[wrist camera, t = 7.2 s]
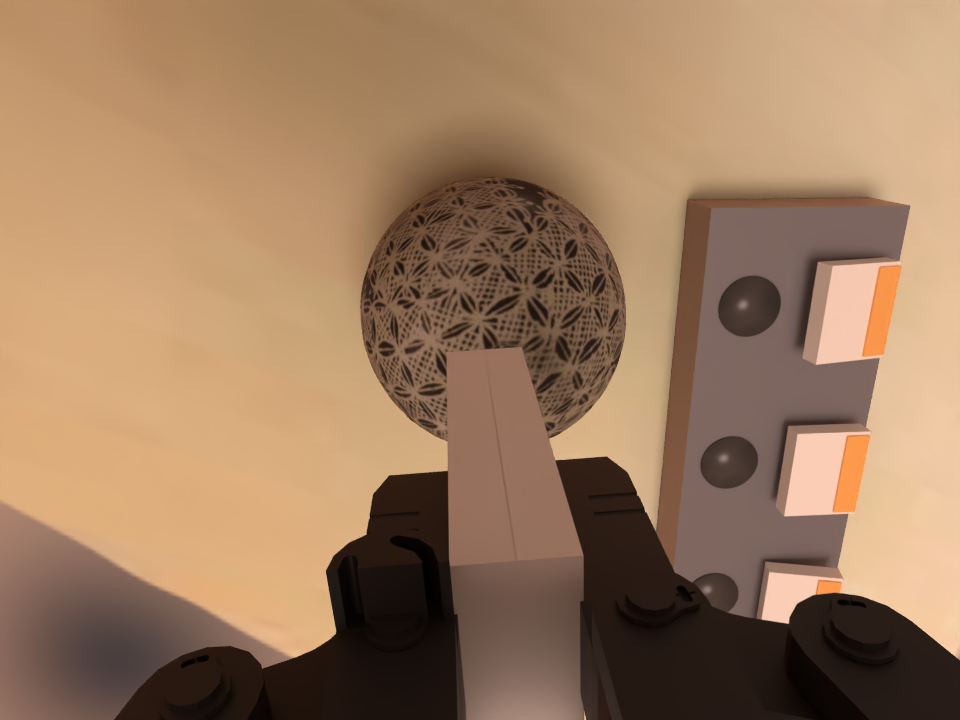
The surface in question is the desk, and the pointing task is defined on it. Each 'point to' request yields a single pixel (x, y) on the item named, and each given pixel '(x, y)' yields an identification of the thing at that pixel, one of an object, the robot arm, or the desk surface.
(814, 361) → the rocker
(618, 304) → the decorative egg
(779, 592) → the rocker
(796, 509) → the middle rocker
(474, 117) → the desk surface
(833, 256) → the power strip
